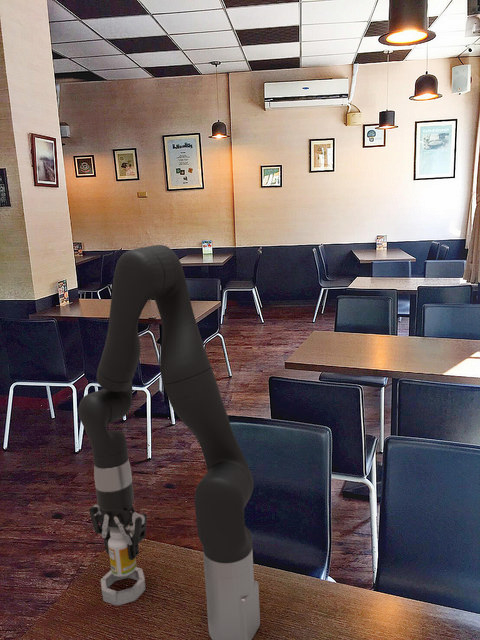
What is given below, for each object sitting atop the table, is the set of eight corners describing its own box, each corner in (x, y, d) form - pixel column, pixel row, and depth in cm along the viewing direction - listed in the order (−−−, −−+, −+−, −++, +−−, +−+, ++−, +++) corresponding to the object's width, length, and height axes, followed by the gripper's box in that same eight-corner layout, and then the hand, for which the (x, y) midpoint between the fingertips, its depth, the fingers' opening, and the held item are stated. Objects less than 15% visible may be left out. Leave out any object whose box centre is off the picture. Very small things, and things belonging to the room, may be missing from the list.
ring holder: (152, 581, 113) (151, 571, 113) (127, 609, 105) (126, 598, 105) (120, 571, 117) (119, 562, 117) (93, 597, 109) (92, 587, 109)
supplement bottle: (139, 561, 113) (135, 521, 111) (132, 577, 108) (127, 535, 106) (116, 561, 113) (111, 521, 112) (107, 577, 108) (102, 535, 107)
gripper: (152, 478, 107) (159, 551, 110) (99, 468, 114) (107, 538, 116) (129, 495, 101) (138, 573, 103) (75, 484, 107) (84, 557, 110)
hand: (122, 554), depth 110 cm, fingers closed on supplement bottle, 5 cm apart
